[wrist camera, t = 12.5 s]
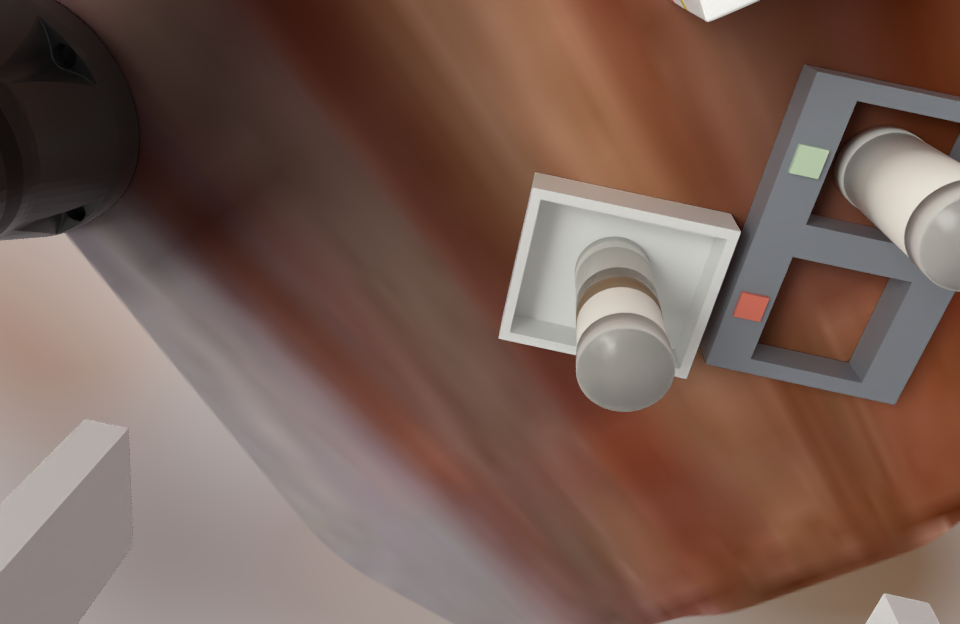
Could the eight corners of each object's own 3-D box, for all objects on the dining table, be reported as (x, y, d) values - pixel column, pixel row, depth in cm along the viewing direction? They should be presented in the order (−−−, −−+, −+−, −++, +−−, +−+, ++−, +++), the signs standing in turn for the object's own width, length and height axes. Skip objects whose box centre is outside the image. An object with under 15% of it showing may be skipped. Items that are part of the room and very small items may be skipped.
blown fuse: (566, 296, 48) (566, 400, 38) (585, 229, 46) (589, 318, 35) (639, 312, 48) (658, 420, 38) (660, 245, 46) (688, 339, 35)
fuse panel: (699, 344, 49) (706, 366, 47) (803, 64, 41) (818, 72, 39) (880, 383, 49) (896, 407, 47) (1020, 109, 41) (1050, 121, 39)
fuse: (820, 196, 44) (900, 279, 34) (853, 116, 42) (949, 179, 31) (899, 212, 44) (1003, 301, 34) (936, 134, 42) (1060, 202, 31)
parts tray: (502, 316, 50) (498, 338, 47) (534, 172, 45) (532, 187, 43) (680, 354, 50) (686, 379, 47) (730, 213, 45) (740, 231, 43)
